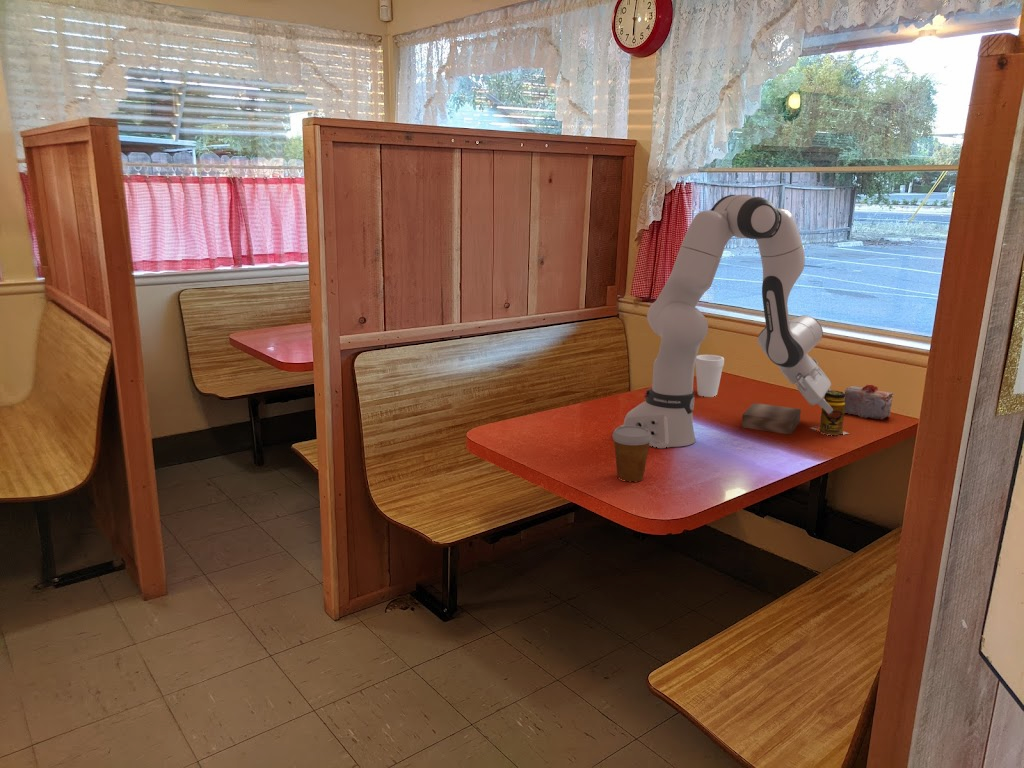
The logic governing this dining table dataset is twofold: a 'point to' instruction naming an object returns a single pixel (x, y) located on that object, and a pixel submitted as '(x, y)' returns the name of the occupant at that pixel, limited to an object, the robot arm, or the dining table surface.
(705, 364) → the foam cup
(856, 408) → the food item
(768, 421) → the base
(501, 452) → the dining table surface
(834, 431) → the condiment
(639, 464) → the disposable coffee cup
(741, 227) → the robot arm
